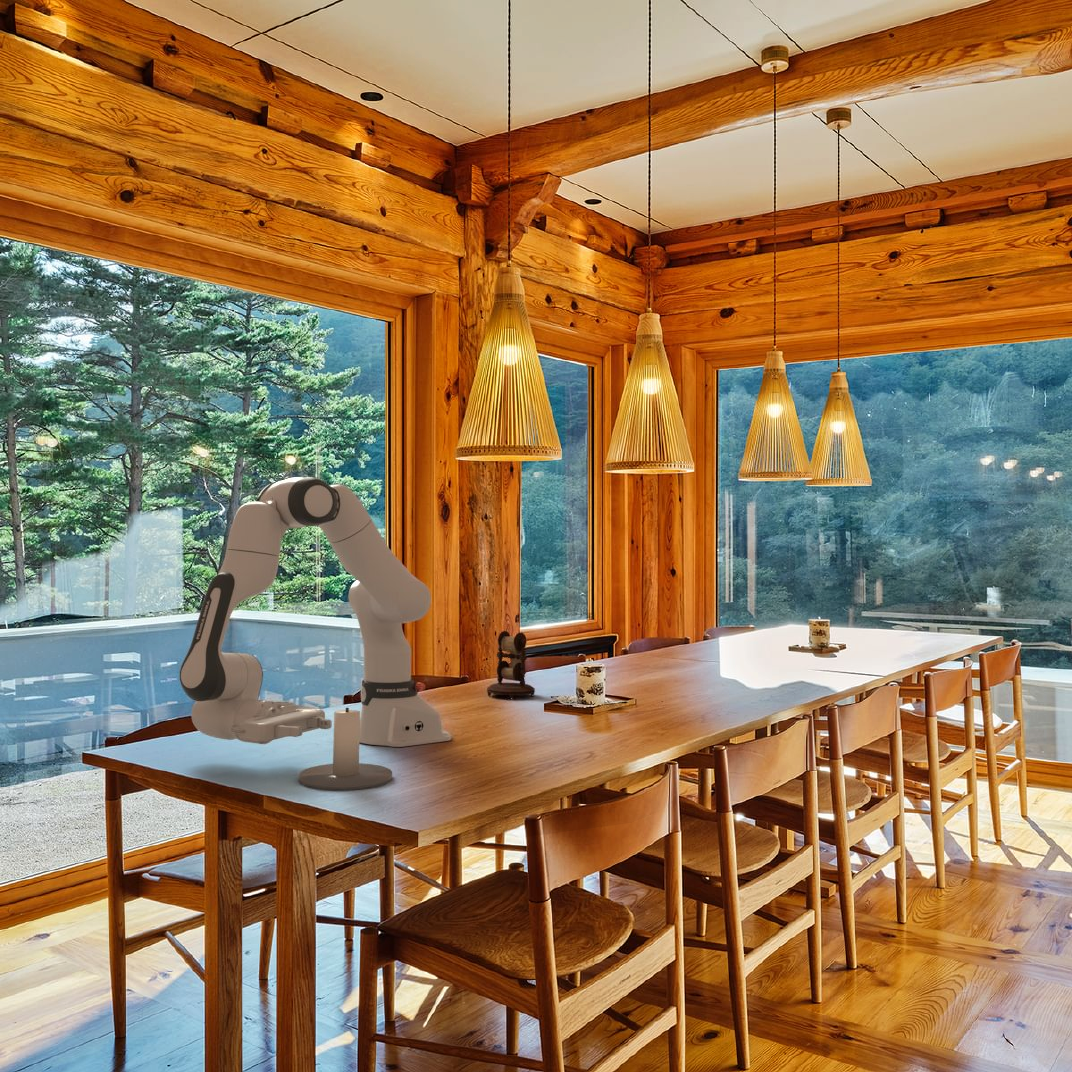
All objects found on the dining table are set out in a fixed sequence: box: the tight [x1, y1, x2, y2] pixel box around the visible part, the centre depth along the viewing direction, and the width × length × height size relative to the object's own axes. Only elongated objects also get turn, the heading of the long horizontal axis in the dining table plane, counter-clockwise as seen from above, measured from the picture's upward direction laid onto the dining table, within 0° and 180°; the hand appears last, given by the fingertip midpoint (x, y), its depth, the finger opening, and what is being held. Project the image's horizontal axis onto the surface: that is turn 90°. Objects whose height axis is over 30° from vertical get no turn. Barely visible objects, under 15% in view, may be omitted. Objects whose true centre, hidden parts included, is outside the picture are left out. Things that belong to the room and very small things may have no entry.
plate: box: [298, 762, 393, 792], centre depth 194 cm, size 18×18×1 cm
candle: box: [332, 707, 361, 776], centre depth 194 cm, size 5×5×13 cm
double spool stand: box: [486, 630, 536, 699], centre depth 306 cm, size 15×15×20 cm
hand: (315, 728), depth 198 cm, fingers open, 8 cm apart
